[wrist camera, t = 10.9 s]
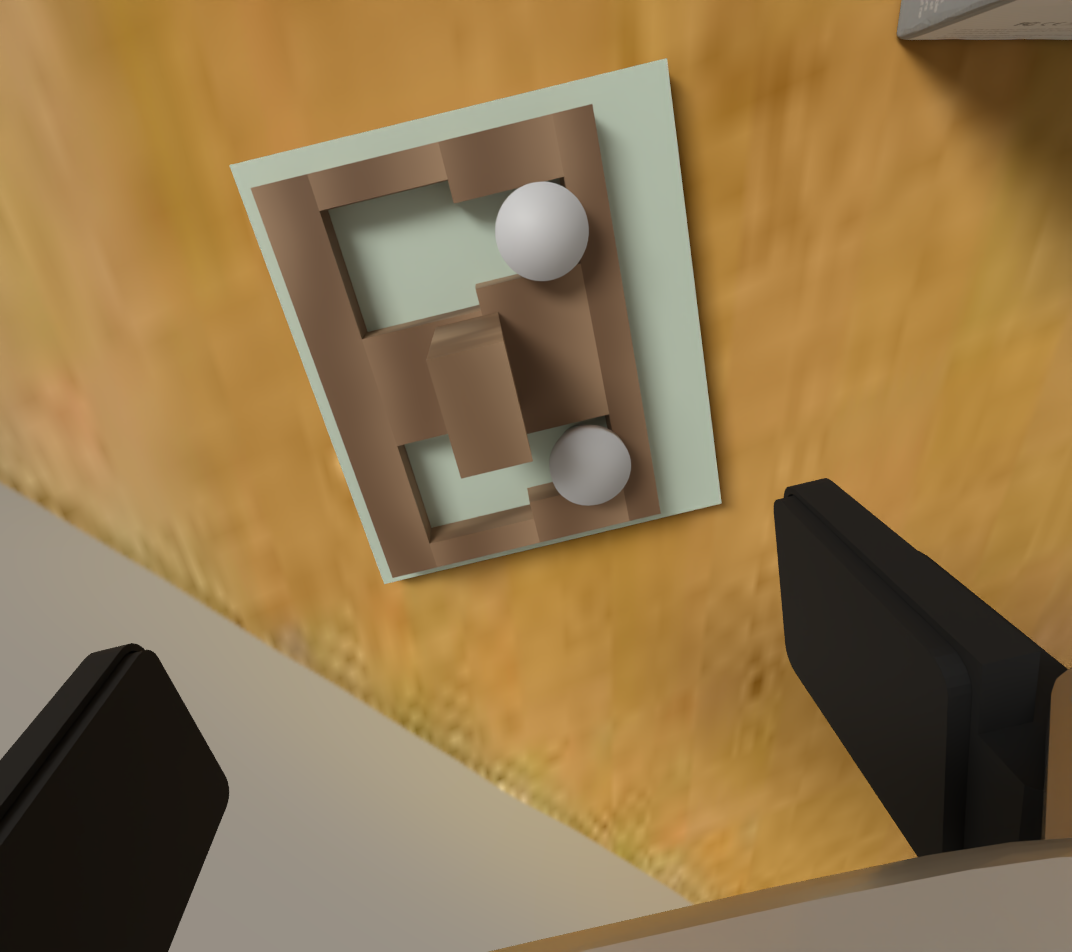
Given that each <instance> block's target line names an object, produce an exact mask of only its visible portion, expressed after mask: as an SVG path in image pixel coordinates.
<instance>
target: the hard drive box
mask: <svg viewBox="0 0 1072 952" xmlns="http://www.w3.org/2000/svg"><path fill="white" fill-rule="evenodd" d="M897 36H898V37H899V38H900V39H905V40H940V39H965V40H1011V39H1053V40H1072V0H902V1H901V8H900V15H899V21H898V28H897Z"/></svg>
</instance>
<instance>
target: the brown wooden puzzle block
mask: <svg viewBox="0 0 1072 952" xmlns="http://www.w3.org/2000/svg"><path fill="white" fill-rule="evenodd" d="M556 178H559V179H560V184H561V186H563V187H564V188H566V189H568V190H569V191H570V192H571V193H573V194H574V195H575V196H576V197H577V199H578V200H579V201H580V203H581V204H582V206H583V208H584V210H585V213H586V215H587V220H588V226H589V236H588V242H587V246H586V249H585V252H584V254H583V256H582V258H581V259H580V261H579V262H578V264H577V265H576V266H575V267H574V268H573V269H572V270H571V271H569V272H568V273H567V274H565V275H563V276H561V277H559V278H557V279H554V280H549V281H534V280H530V279H527V278H525V277H522V276H520V275H519V274H515V275H511V276H507V277H502V278H498V279H494V280H490V281H486V282H482V283H478V284H475V289H476V293H477V297H478V301H479V305H476V306H472V307H468V308H464V309H460V310H456V311H452V312H448V313H444V314H439V315H435V316H431V317H427V318H423V319H419V320H415V321H411V322H407V323H403V324H398V325H394V326H390V327H386V328H382V329H378V330H374V331H370V332H368V331H367V328H366V325H365V322H364V319H363V316H362V313H361V310H360V307H359V304H358V301H357V298H356V295H355V291H354V288H353V285H352V282H351V279H350V276H349V273H348V270H347V267H346V264H345V261H344V258H343V255H342V252H341V248H340V245H339V242H338V239H337V236H336V233H335V230H334V227H333V224H332V221H331V218H330V215H329V212H328V210H330V209H334V208H338V207H343V206H347V205H351V204H355V203H359V202H363V201H367V200H371V199H375V198H379V197H383V196H387V195H391V194H395V193H400V192H404V191H408V190H412V189H416V188H420V187H424V186H428V185H432V184H436V183H440V182H444V181H448V183H449V187H450V191H451V195H452V199H453V203H459V202H463V201H467V200H471V199H475V198H479V197H483V196H487V195H491V194H495V193H499V192H503V191H507V190H512V189H516V188H520V187H522V186H524V185H526V184H530V183H534V182H544V181H548V180H552V179H556ZM251 191H252V194H253V197H254V199H255V202H256V205H257V208H258V210H259V213H260V216H261V219H262V221H263V224H264V227H265V230H266V232H267V235H268V238H269V241H270V243H271V246H272V249H273V252H274V254H275V257H276V260H277V262H278V265H279V268H280V271H281V273H282V276H283V279H284V282H285V284H286V287H287V290H288V293H289V295H290V298H291V301H292V304H293V306H294V309H295V312H296V315H297V317H298V320H299V323H300V326H301V328H302V331H303V334H304V336H305V339H306V342H307V345H308V347H309V350H310V353H311V356H312V358H313V361H314V364H315V367H316V369H317V372H318V375H319V378H320V380H321V383H322V386H323V389H324V391H325V394H326V397H327V399H328V402H329V405H330V408H331V410H332V413H333V416H334V419H335V421H336V424H337V427H338V430H339V432H340V435H341V438H342V441H343V443H344V446H345V449H346V452H347V454H348V457H349V460H350V463H351V465H352V468H353V471H354V473H355V476H356V479H357V482H358V484H359V487H360V490H361V493H362V495H363V498H364V501H365V504H366V506H367V509H368V512H369V515H370V517H371V520H372V523H373V526H374V528H375V531H376V534H377V537H378V539H379V542H380V545H381V547H382V550H383V553H384V556H385V558H386V561H387V564H388V567H389V569H390V572H391V575H392V578H395V577H399V576H403V575H408V574H412V573H416V572H420V571H424V570H428V569H433V568H437V567H441V566H445V565H449V564H453V563H457V562H462V561H466V560H470V559H474V558H478V557H482V556H487V555H491V554H495V553H499V552H503V551H507V550H512V549H516V548H520V547H524V546H528V545H532V544H536V543H541V542H545V541H549V540H553V539H557V538H561V537H566V536H570V535H574V534H578V533H582V532H586V531H591V530H595V529H599V528H603V527H607V526H611V525H615V524H620V523H624V522H628V521H632V520H636V519H640V518H645V517H649V516H653V515H657V514H661V512H660V506H659V500H658V494H657V488H656V482H655V476H654V470H653V464H652V458H651V452H650V446H649V440H648V434H647V428H646V422H645V416H644V410H643V404H642V398H641V392H640V386H639V380H638V374H637V368H636V362H635V356H634V350H633V344H632V338H631V332H630V326H629V320H628V314H627V308H626V302H625V296H624V290H623V284H622V278H621V272H620V266H619V260H618V254H617V248H616V242H615V236H614V230H613V224H612V218H611V212H610V206H609V200H608V195H607V189H606V183H605V177H604V171H603V165H602V159H601V153H600V147H599V141H598V135H597V129H596V123H595V117H594V111H593V105H592V104H590V105H586V106H581V107H577V108H573V109H569V110H565V111H561V112H557V113H553V114H549V115H545V116H541V117H537V118H533V119H529V120H525V121H521V122H516V123H512V124H508V125H504V126H500V127H496V128H492V129H488V130H484V131H480V132H476V133H472V134H468V135H464V136H460V137H456V138H452V139H447V140H443V141H439V142H435V143H431V144H427V145H423V146H419V147H415V148H411V149H407V150H403V151H399V152H395V153H391V154H387V155H382V156H378V157H374V158H370V159H366V160H362V161H358V162H354V163H350V164H346V165H342V166H338V167H334V168H330V169H326V170H322V171H318V172H313V173H309V174H305V175H301V176H297V177H293V178H289V179H285V180H281V181H277V182H273V183H269V184H265V185H261V186H257V187H253V188H251ZM604 415H605V418H606V424H607V428H608V429H609V430H611V431H613V432H614V433H615V434H616V435H618V436H619V438H620V439H621V440H622V442H623V444H624V445H625V447H626V449H627V450H628V453H629V455H630V459H631V471H630V476H629V479H628V481H627V483H626V485H625V486H624V488H623V489H622V490H621V492H619V493H618V494H617V495H616V496H615V497H614V498H612V499H610V500H609V501H607V502H604V503H601V504H598V505H590V506H587V505H579V504H576V503H573V502H571V501H569V500H567V499H565V498H564V497H563V496H562V495H561V494H560V493H559V492H558V491H557V489H556V488H555V486H554V484H553V482H550V483H546V484H542V485H538V486H534V487H530V488H527V490H528V496H529V502H530V504H529V505H524V506H520V507H516V508H512V509H508V510H504V511H499V512H495V513H491V514H487V515H483V516H479V517H475V518H470V519H466V520H462V521H458V522H454V523H450V524H446V525H441V526H437V527H433V528H431V525H430V522H429V519H428V516H427V513H426V509H425V506H424V503H423V500H422V497H421V494H420V491H419V488H418V485H417V482H416V479H415V476H414V473H413V470H412V466H411V463H410V460H409V457H408V454H407V451H406V448H405V445H404V444H408V443H412V442H416V441H421V440H425V439H429V438H433V437H437V436H441V435H445V434H448V436H449V439H450V443H451V446H452V450H453V453H454V456H455V460H456V463H457V467H458V470H459V473H460V477H461V479H462V478H466V477H470V476H475V475H479V474H483V473H487V472H491V471H495V470H499V469H504V468H508V467H512V466H516V465H520V464H524V463H528V462H533V459H532V454H531V450H530V445H529V441H528V436H527V434H530V433H534V432H538V431H542V430H546V429H550V428H554V427H558V426H563V425H567V424H571V423H575V422H579V421H583V420H587V419H592V418H596V417H600V416H604Z"/></svg>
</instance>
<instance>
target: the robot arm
mask: <svg viewBox="0 0 1072 952" xmlns="http://www.w3.org/2000/svg"><path fill="white" fill-rule="evenodd" d="M774 519H775V531H776V542H777V554H778V565H779V577H780V588H781V600H782V611H783V623H784V634H785V645H786V651H787V655H788V658H789V661H790V663H791V665H792V668H793V669H794V671H795V673H796V674H797V676H798V677H799V679H800V680H801V682H802V683H803V685H804V686H805V688H806V689H807V691H808V692H809V694H810V695H811V697H812V698H813V700H814V701H815V703H816V704H817V706H818V707H819V709H820V710H821V712H822V713H823V715H824V716H825V718H826V719H827V721H828V722H829V724H830V725H831V727H832V728H833V730H834V731H835V733H836V734H837V736H838V737H839V739H840V740H841V742H842V743H843V745H844V746H845V748H846V749H847V751H848V752H849V754H850V755H851V757H852V759H853V760H854V762H855V763H856V765H857V766H858V768H859V769H860V771H861V772H862V774H863V775H864V777H865V778H866V780H867V781H868V783H869V784H870V786H871V787H872V789H873V790H874V792H875V793H876V795H877V796H878V798H879V799H880V801H881V802H882V804H883V805H884V807H885V808H886V810H887V811H888V813H889V814H890V816H891V817H892V819H893V820H894V822H895V823H896V825H897V826H898V828H899V829H900V831H901V832H902V834H903V835H904V837H905V838H906V840H907V841H908V843H909V844H910V846H911V847H912V849H913V850H914V852H915V853H916V855H917V856H918V857H917V858H912V859H907V860H902V861H898V862H893V863H888V864H883V865H878V866H873V867H869V868H864V869H859V870H854V871H849V872H844V873H839V874H835V875H830V876H825V877H820V878H815V879H810V880H806V881H801V882H796V883H791V884H786V885H781V886H777V887H772V888H767V889H763V890H759V891H754V892H750V893H745V894H741V895H736V896H732V897H727V898H723V899H719V900H714V901H710V902H705V903H701V904H696V905H692V906H688V907H683V908H679V909H674V910H670V911H665V912H661V913H657V914H652V915H648V916H643V917H639V918H635V919H630V920H626V921H621V922H617V923H613V924H608V925H603V926H599V927H595V928H590V929H586V930H581V931H577V932H573V933H568V934H564V935H559V936H555V937H550V938H546V939H541V940H537V941H533V942H528V943H524V944H520V945H516V946H511V947H507V948H502V949H498V950H494V951H489V952H1072V668H1069V669H1067V668H1066V667H1064V666H1063V665H1062V664H1061V663H1060V662H1058V661H1057V660H1056V659H1055V658H1053V657H1052V656H1051V655H1050V654H1048V653H1047V652H1046V651H1045V650H1043V649H1042V648H1041V647H1040V646H1038V645H1037V644H1036V643H1035V642H1033V641H1032V640H1031V639H1030V638H1029V637H1027V636H1026V635H1025V634H1024V633H1022V632H1021V631H1020V630H1019V629H1017V628H1016V627H1015V626H1014V625H1012V624H1011V623H1010V622H1009V621H1007V620H1006V619H1005V618H1004V617H1003V616H1001V615H1000V614H999V613H998V612H996V611H995V610H994V609H993V608H991V607H990V606H989V605H988V604H986V603H985V602H984V601H983V600H981V599H980V598H979V597H978V596H976V595H975V594H974V593H973V592H972V591H970V590H969V589H968V588H967V587H965V586H964V585H963V584H962V583H960V582H959V581H958V580H957V579H955V578H954V577H953V576H952V575H950V574H949V573H948V572H947V571H946V570H944V569H943V568H942V567H941V566H939V565H938V564H937V563H936V562H934V561H933V560H932V559H931V558H929V557H928V556H926V555H925V554H923V553H921V552H920V551H917V550H916V549H915V548H914V547H912V546H911V545H910V544H909V543H907V542H906V541H905V540H904V539H902V538H901V537H900V536H899V535H898V534H896V533H895V532H894V531H893V530H891V529H890V528H889V527H888V526H887V525H885V524H884V523H883V522H882V521H880V520H879V519H878V518H877V517H875V516H874V515H873V514H872V513H871V512H869V511H868V510H867V509H866V508H864V507H863V506H862V505H861V504H859V503H858V502H857V501H856V500H855V499H853V498H852V497H851V496H850V495H848V494H847V493H846V492H845V491H843V490H842V489H841V488H840V487H839V486H837V485H836V484H835V483H834V482H832V481H831V480H829V479H827V478H824V479H819V480H815V481H811V482H807V483H803V484H798V485H794V486H790V487H787V488H786V490H785V493H784V498H782V499H778V500H776V501H775V502H774ZM228 799H229V786H228V781H227V779H226V777H225V775H224V773H223V771H222V769H221V767H220V766H219V764H218V762H217V761H216V759H215V757H214V755H213V753H212V752H211V750H210V749H209V746H208V745H207V743H206V741H205V739H204V737H203V736H202V734H201V732H200V730H199V729H198V727H197V725H196V724H195V722H194V720H193V718H192V716H191V715H190V713H189V711H188V709H187V707H186V706H185V704H184V702H183V701H182V699H181V697H180V695H179V693H178V692H177V690H176V688H175V686H174V685H173V683H172V681H171V679H170V678H169V676H168V674H167V672H166V670H165V669H164V667H163V665H162V663H161V662H160V660H159V658H158V657H157V655H156V654H155V653H154V652H152V651H151V650H144V648H142V647H141V646H139V645H138V644H133V643H131V644H127V645H123V646H119V647H115V648H110V649H106V650H102V651H98V652H94V653H91V654H90V655H89V656H87V657H86V658H85V659H84V660H83V662H82V663H81V664H80V665H79V666H78V668H77V669H76V670H75V671H74V672H73V674H72V675H71V676H70V677H69V679H68V680H67V681H66V682H65V683H64V684H63V686H62V687H61V688H60V689H59V690H58V692H57V693H56V694H55V696H53V698H52V699H51V700H50V701H49V703H48V704H47V705H46V706H45V707H44V708H43V710H42V711H41V712H40V713H39V714H38V716H37V717H36V718H35V719H34V720H33V722H32V723H31V724H30V725H29V727H28V728H27V729H26V730H25V731H24V732H23V734H22V735H21V736H20V737H19V738H18V740H17V741H16V742H15V743H14V744H13V746H12V747H11V748H10V749H9V750H8V752H7V753H6V754H5V755H4V756H3V758H2V759H1V760H0V952H168V950H169V948H170V945H171V943H172V940H173V938H174V935H175V933H176V930H177V928H178V925H179V923H180V921H181V918H182V916H183V913H184V911H185V908H186V906H187V903H188V901H189V898H190V896H191V893H192V891H193V888H194V886H195V883H196V881H197V878H198V876H199V874H200V871H201V868H202V866H203V864H204V861H205V859H206V856H207V854H208V851H209V848H210V846H211V844H212V841H213V839H214V836H215V834H216V831H217V829H218V826H219V824H220V821H221V819H222V816H223V814H224V812H225V809H226V807H227V803H228Z"/></svg>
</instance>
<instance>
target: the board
mask: <svg viewBox="0 0 1072 952" xmlns="http://www.w3.org/2000/svg"><path fill="white" fill-rule="evenodd" d="M590 104H592V105H593V111H594V117H595V123H596V129H597V135H598V141H599V147H600V153H601V159H602V165H603V171H604V177H605V183H606V189H607V195H608V200H609V206H610V212H611V218H612V224H613V230H614V236H615V242H616V248H617V254H618V260H619V266H620V272H621V278H622V284H623V290H624V296H625V302H626V308H627V314H628V320H629V326H630V332H631V338H632V344H633V350H634V356H635V362H636V368H637V374H638V380H639V386H640V392H641V398H642V404H643V410H644V416H645V422H646V428H647V434H648V440H649V446H650V452H651V458H652V464H653V470H654V476H655V482H656V488H657V494H658V500H659V506H660V512H661V514H657V515H653V516H649V517H645V518H640V519H636V520H632V521H628V522H624V523H620V524H615V525H611V526H607V527H603V528H599V529H595V530H591V531H586V532H582V533H578V534H574V535H570V536H566V537H561V538H557V539H553V540H549V541H545V542H541V543H536V544H532V545H528V546H524V547H520V548H516V549H512V550H507V551H503V552H499V553H495V554H491V555H487V556H482V557H478V558H474V559H470V560H466V561H462V562H457V563H453V564H449V565H445V566H441V567H437V568H433V569H428V570H424V571H420V572H416V573H412V574H408V575H403V576H399V577H395V578H392V575H391V572H390V569H389V567H388V564H387V561H386V558H385V556H384V553H383V550H382V547H381V545H380V542H379V539H378V537H377V534H376V531H375V528H374V526H373V523H372V520H371V517H370V515H369V512H368V509H367V506H366V504H365V501H364V498H363V495H362V493H361V490H360V487H359V484H358V482H357V479H356V476H355V473H354V471H353V468H352V465H351V463H350V460H349V457H348V454H347V452H346V449H345V446H344V443H343V441H342V438H341V435H340V432H339V430H338V427H337V424H336V421H335V419H334V416H333V413H332V410H331V408H330V405H329V402H328V399H327V397H326V394H325V391H324V389H323V386H322V383H321V380H320V378H319V375H318V372H317V369H316V367H315V364H314V361H313V358H312V356H311V353H310V350H309V347H308V345H307V342H306V339H305V336H304V334H303V331H302V328H301V326H300V323H299V320H298V317H297V315H296V312H295V309H294V306H293V304H292V301H291V298H290V295H289V293H288V290H287V287H286V284H285V282H284V279H283V276H282V273H281V271H280V268H279V265H278V262H277V260H276V257H275V254H274V252H273V249H272V246H271V243H270V241H269V238H268V235H267V232H266V230H265V227H264V224H263V221H262V219H261V216H260V213H259V210H258V208H257V205H256V202H255V199H254V197H253V194H252V191H251V188H253V187H257V186H261V185H265V184H269V183H273V182H277V181H281V180H285V179H289V178H293V177H297V176H301V175H305V174H309V173H313V172H318V171H322V170H326V169H330V168H334V167H338V166H342V165H346V164H350V163H354V162H358V161H362V160H366V159H370V158H374V157H378V156H382V155H387V154H391V153H395V152H399V151H403V150H407V149H411V148H415V147H419V146H423V145H427V144H431V143H435V142H439V141H443V140H447V139H452V138H456V137H460V136H464V135H468V134H472V133H476V132H480V131H484V130H488V129H492V128H496V127H500V126H504V125H508V124H512V123H516V122H521V121H525V120H529V119H533V118H537V117H541V116H545V115H549V114H553V113H557V112H561V111H565V110H569V109H573V108H577V107H581V106H586V105H590ZM230 168H231V171H232V173H233V176H234V179H235V182H236V184H237V187H238V190H239V192H240V195H241V198H242V200H243V203H244V206H245V209H246V211H247V214H248V217H249V219H250V222H251V225H252V227H253V230H254V233H255V236H256V238H257V241H258V244H259V246H260V249H261V252H262V255H263V257H264V260H265V263H266V265H267V268H268V271H269V273H270V276H271V279H272V282H273V284H274V287H275V290H276V292H277V295H278V298H279V300H280V303H281V306H282V309H283V311H284V314H285V317H286V319H287V322H288V325H289V327H290V330H291V333H292V336H293V338H294V341H295V344H296V346H297V349H298V352H299V354H300V357H301V360H302V363H303V365H304V368H305V371H306V373H307V376H308V379H309V382H310V384H311V387H312V390H313V392H314V395H315V398H316V400H317V403H318V406H319V409H320V411H321V414H322V417H323V419H324V422H325V425H326V427H327V430H328V433H329V436H330V438H331V441H332V444H333V446H334V449H335V452H336V454H337V457H338V460H339V463H340V465H341V468H342V471H343V473H344V476H345V479H346V481H347V484H348V487H349V490H350V492H351V495H352V498H353V500H354V503H355V506H356V509H357V511H358V514H359V517H360V519H361V522H362V525H363V527H364V530H365V533H366V536H367V538H368V541H369V544H370V546H371V549H372V552H373V554H374V557H375V560H376V563H377V565H378V568H379V571H380V573H381V576H382V579H383V581H384V584H387V583H391V582H395V581H399V580H403V579H407V578H412V577H416V576H420V575H424V574H428V573H433V572H437V571H441V570H445V569H449V568H454V567H458V566H462V565H466V564H470V563H474V562H479V561H483V560H487V559H491V558H495V557H500V556H504V555H508V554H512V553H516V552H521V551H525V550H529V549H533V548H537V547H541V546H546V545H550V544H554V543H558V542H562V541H567V540H571V539H575V538H579V537H583V536H588V535H592V534H596V533H600V532H604V531H608V530H613V529H617V528H621V527H625V526H629V525H634V524H638V523H642V522H646V521H650V520H655V519H659V518H663V517H667V516H671V515H675V514H680V513H684V512H688V511H692V510H696V509H701V508H705V507H709V506H713V505H717V504H722V503H721V495H720V487H719V478H718V470H717V462H716V454H715V446H714V438H713V430H712V421H711V413H710V405H709V397H708V389H707V381H706V373H705V365H704V356H703V348H702V340H701V332H700V324H699V316H698V308H697V299H696V291H695V283H694V275H693V267H692V259H691V251H690V242H689V234H688V226H687V218H686V210H685V202H684V194H683V186H682V177H681V169H680V161H679V153H678V145H677V137H676V129H675V120H674V112H673V104H672V96H671V88H670V80H669V72H668V64H667V58H666V59H662V60H658V61H654V62H650V63H645V64H641V65H637V66H633V67H629V68H625V69H621V70H617V71H613V72H609V73H605V74H600V75H596V76H592V77H588V78H584V79H580V80H576V81H572V82H568V83H564V84H560V85H555V86H551V87H547V88H543V89H539V90H535V91H531V92H527V93H523V94H519V95H515V96H510V97H506V98H502V99H498V100H494V101H490V102H486V103H482V104H478V105H474V106H470V107H466V108H461V109H457V110H453V111H449V112H445V113H441V114H437V115H433V116H429V117H425V118H421V119H416V120H412V121H408V122H404V123H400V124H396V125H392V126H388V127H384V128H380V129H376V130H371V131H367V132H363V133H359V134H355V135H351V136H347V137H343V138H339V139H335V140H331V141H326V142H322V143H318V144H314V145H310V146H306V147H302V148H298V149H294V150H290V151H286V152H281V153H277V154H273V155H269V156H265V157H261V158H257V159H253V160H249V161H245V162H241V163H237V164H232V165H230ZM328 212H329V215H330V218H331V221H332V224H333V227H334V230H335V233H336V236H337V239H338V242H339V245H340V248H341V252H342V255H343V258H344V261H345V264H346V267H347V270H348V273H349V276H350V279H351V282H352V285H353V288H354V291H355V295H356V298H357V301H358V304H359V307H360V310H361V313H362V316H363V319H364V322H365V325H366V328H367V331H368V332H370V331H374V330H378V329H382V328H386V327H390V326H394V325H398V324H403V323H407V322H411V321H415V320H419V319H423V318H427V317H431V316H435V315H439V314H444V313H448V312H452V311H456V310H460V309H464V308H468V307H472V306H476V305H479V301H478V297H477V293H476V289H475V284H478V283H482V282H486V281H490V280H494V279H498V278H502V277H507V276H511V275H515V274H519V275H520V276H522V277H525V278H527V279H530V280H534V281H549V280H554V279H557V278H559V277H561V276H563V275H565V274H567V273H568V272H569V271H571V270H572V269H573V268H574V267H575V266H576V265H577V264H578V262H579V261H580V259H581V258H582V256H583V254H584V252H585V249H586V246H587V242H588V236H589V226H588V220H587V215H586V213H585V210H584V208H583V206H582V204H581V203H580V201H579V200H578V199H577V197H576V196H575V195H574V194H573V193H571V192H570V191H569V190H568V189H566V188H564V187H563V186H561V184H560V179H559V178H556V179H552V180H548V181H544V182H534V183H530V184H526V185H524V186H522V187H520V188H516V189H512V190H507V191H503V192H499V193H495V194H491V195H487V196H483V197H479V198H475V199H471V200H467V201H463V202H459V203H453V199H452V195H451V191H450V187H449V183H448V181H444V182H440V183H436V184H432V185H428V186H424V187H420V188H416V189H412V190H408V191H404V192H400V193H395V194H391V195H387V196H383V197H379V198H375V199H371V200H367V201H363V202H359V203H355V204H351V205H347V206H343V207H338V208H334V209H330V210H328ZM527 436H528V441H529V445H530V450H531V454H532V459H533V462H528V463H524V464H520V465H516V466H512V467H508V468H504V469H499V470H495V471H491V472H487V473H483V474H479V475H475V476H470V477H466V478H462V479H461V477H460V473H459V470H458V467H457V463H456V460H455V456H454V453H453V450H452V446H451V443H450V439H449V436H448V434H445V435H441V436H437V437H433V438H429V439H425V440H421V441H416V442H412V443H408V444H404V445H405V448H406V451H407V454H408V457H409V460H410V463H411V466H412V470H413V473H414V476H415V479H416V482H417V485H418V488H419V491H420V494H421V497H422V500H423V503H424V506H425V509H426V513H427V516H428V519H429V522H430V525H431V528H433V527H437V526H441V525H446V524H450V523H454V522H458V521H462V520H466V519H470V518H475V517H479V516H483V515H487V514H491V513H495V512H499V511H504V510H508V509H512V508H516V507H520V506H524V505H529V504H530V502H529V496H528V490H527V488H530V487H534V486H538V485H542V484H546V483H550V482H553V484H554V486H555V488H556V489H557V491H558V492H559V493H560V494H561V495H562V496H563V497H564V498H565V499H567V500H569V501H571V502H573V503H576V504H579V505H587V506H590V505H598V504H601V503H604V502H607V501H609V500H610V499H612V498H614V497H615V496H616V495H617V494H618V493H619V492H621V490H622V489H623V488H624V486H625V485H626V483H627V481H628V479H629V476H630V471H631V459H630V455H629V453H628V450H627V449H626V447H625V445H624V444H623V442H622V440H621V439H620V438H619V436H618V435H616V434H615V433H614V432H613V431H611V430H609V429H608V428H607V424H606V418H605V415H604V416H600V417H596V418H592V419H587V420H583V421H579V422H575V423H571V424H567V425H563V426H558V427H554V428H550V429H546V430H542V431H538V432H534V433H530V434H527Z"/></svg>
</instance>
